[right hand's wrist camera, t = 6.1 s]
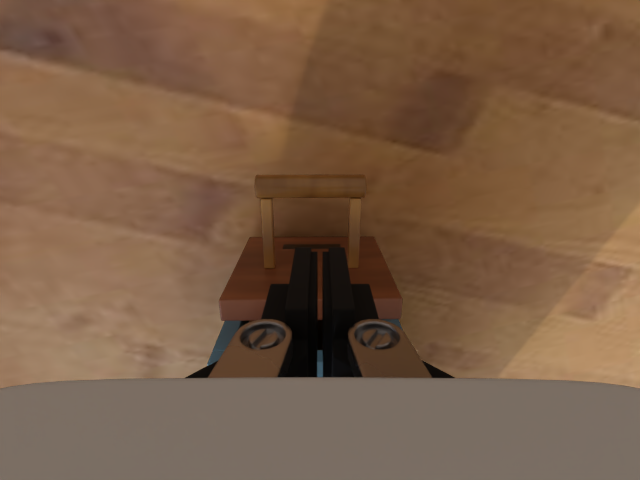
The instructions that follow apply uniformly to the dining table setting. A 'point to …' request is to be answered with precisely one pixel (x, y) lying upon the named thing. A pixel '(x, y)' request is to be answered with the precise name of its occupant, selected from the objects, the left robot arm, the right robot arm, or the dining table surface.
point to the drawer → (278, 252)
